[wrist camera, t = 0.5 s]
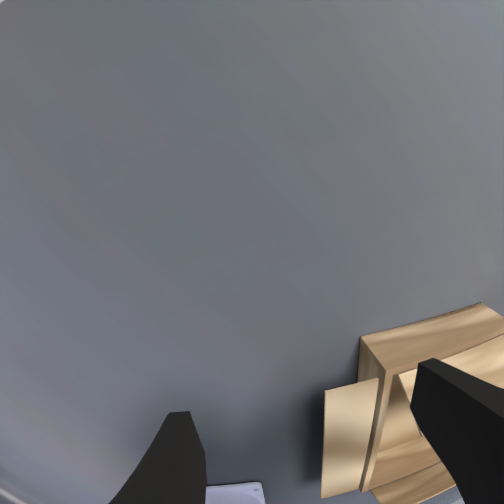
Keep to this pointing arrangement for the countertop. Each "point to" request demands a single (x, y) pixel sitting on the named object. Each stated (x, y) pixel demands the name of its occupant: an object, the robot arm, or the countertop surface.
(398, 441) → the carton
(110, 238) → the countertop surface
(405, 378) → the flap near
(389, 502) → the flap far
